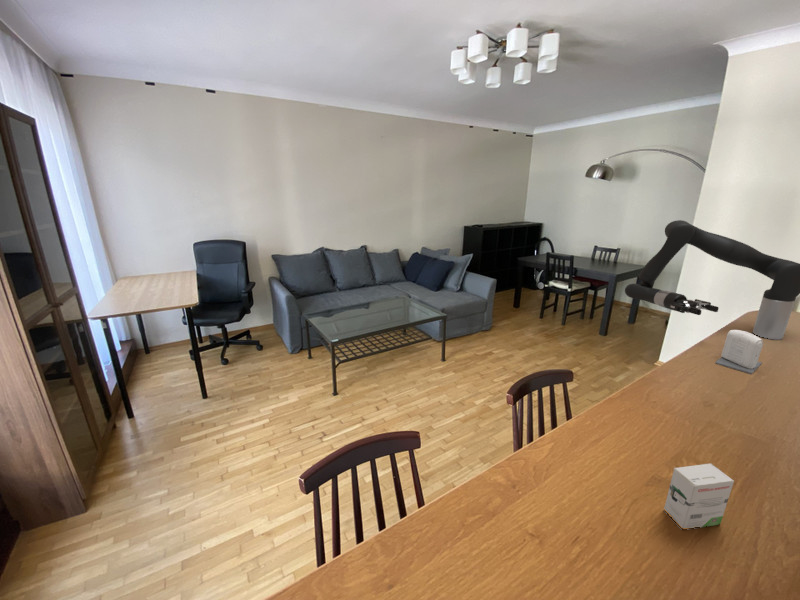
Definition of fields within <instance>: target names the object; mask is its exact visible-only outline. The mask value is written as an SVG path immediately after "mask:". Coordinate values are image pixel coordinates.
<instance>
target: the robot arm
mask: <svg viewBox="0 0 800 600" xmlns="http://www.w3.org/2000/svg"><path fill="white" fill-rule="evenodd" d="M664 234H665V236H666V240H665V242H664V244H663V245H662V246H661V248H660V249H659V250H658V252H656V253H655V255H654V256H652V258H651V259H650V260H648V262H647V263H646V264H645V265H644V266H643V268H642V270H641V271H640V273H639V274H638V279H639V280H640V283H628V284H627V285H626V287H625V289H624V293H625V295H626V296H627V297H628V298H631V299H635V300H640V301H644V302H646V303H647V302H648V303H650V304H653V305H656V306H658V307H662V308H665V309H667V310H670V311H671V310H672V311H674V312H678V313H681V314H685V313H687V314H689V313H690V314H693V315H696V316H701V315H702V310H707V311H710V312H714V313H718V312H719V306H716V305H712V303H711V302H709V301H705V300H701V299H697V298H695V299H694V300H693V299H688V297H686V296H685V295H684V294H682V293H677V292H673V291H671V290H670V291H669V290H663V289H660V288H659V289H658V288H654V287H653V286H654V284H655V281H656V280H657V279H658V278H659V276H660V275H661V273H662V272H663V271H664V269H665V268H666V266H667V265H668V264H669V263H670V262H671V260H672V259H673V258H674V257H675V256H676V255H677V254H678V253H679V252H680V251H681V250H682V249H683V247H684V246H686V245H687V244H688V245H690V246H693V247H694V248H698V249H699V250H701V251H702V252H704V253H705V254H708V255H709V256H711V257H714V258H716V259H718V260H720V261H724V262H725V263H728V264H732V265H734V266H739V267H742V268H746V269H747V268H748V269H751V270H753V271H755V272H758V274H761V275H763V276H765V277H767V278H769V279H770V280H772V281H773V282H772V284H771V287H770V288H769V289H766V290H764V291H763V295H762V298H761V300H760V301H761V302H760V306H759V309H758V313H757V315H756V319H755V323H754V325H753V329H752V332H753V333H754V334H756V335H758V336H757V337H759V336H760V337H759V338H762V337H764V338H763V339H767V338H768V340H777V341H778V340H779V341H780V340H782V339H783V338H784V336H785V334H786V333H785V332H786V330H787V327H788V324H789V321H790V318H791V314H792V312H793V308H794V305H795V302H796V300H797V299H796V298H797V297H798V296H799V295H800V263H798V262H797V261H793V260H789V259H784V258H780V257H776V256H772V255H769V254H765V253H763V252H761V251H759V250H758V249H756V248H754V247H752V246H751V245H749V244H746V243H745V242H743V241H738V240H737V239H733V238H730V237H727V236H724V235H720V234H717V233H714V232H709V231H707V230H703V229H701V228H699V227H697V226H695V225H693V224H691V223H689V222H688V221H686V220H681V219H680V220H679V219H678V220H673V221H671V222H669V223H667V225H666V226H665V227H664ZM753 333H752V334H753ZM754 334H753V335H754ZM756 335H755V336H756Z"/></svg>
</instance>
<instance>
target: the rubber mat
mask: <svg viewBox="0 0 800 600" xmlns="http://www.w3.org/2000/svg"><path fill="white" fill-rule="evenodd" d="M715 363H716V364H715ZM714 364H715V365H718V364H719V365H718V366H721V365H722V367H725V368H729V369H732V370H736V371H738V370H739V371H740V372H741V373H746V374H749V375H752V374H753V373H754V372H756V370H757V369H758V368H759V367H760V366H761V365H762V362H760V361H757V364H756V367H755V368H753V369H749V368H746V367H743V366H741V365H739V364H736V363H734V362H732V361H730V360H727V359H725V358H723V357H722V356H721V357H720V358H718V359H717V360H716V361H715V362H714Z"/></svg>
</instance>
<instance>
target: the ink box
mask: <svg viewBox="0 0 800 600" xmlns="http://www.w3.org/2000/svg"><path fill="white" fill-rule="evenodd" d="M669 483H670V484H669V488H668V492H667V496H666V501H665V504H664V508H663V510H664V509H665V510H666V511H667V512H668V513H669V514H670V515H671V516H672V517H673V519H674V520H675V521H676V522H677V523H678V524H679V525H680V526H681V527H682V528H694V527H700V528H706V526H707V527H713V526H719V524H720V525H721V523H722V520H723V518H724V514H725V511H726V507H727V504H728V501H729V498H730V495H731V491H732V489H733V486H734V483H735V480H734V479H732V478H731V477H730V476H728V475H727V474H726V473H725V472H723V470H721V469H719V468H718V467H717V466H715V465H714V464H713V463H711V462H710V463H702V464H695V465H688V466H680V467H674V468H673V472H672V476H671V479H670V482H669ZM694 529H695V528H694Z"/></svg>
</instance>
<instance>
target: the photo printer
mask: <svg viewBox="0 0 800 600" xmlns="http://www.w3.org/2000/svg"><path fill="white" fill-rule="evenodd" d="M763 347H764V341H763V339H762V338H761V337H759V336H756V335H754V334H753V333H752V332H748V331H746V330H745V331H744V330H739V329H731V330H728V332H727V335H726V338H725V342H724V344H723V348H722V351H721V354H720V355H721V357H723V358H725V359H727V360H730V361H732V362H734V363H736V364H739V365H741V366H743V367H746V368H749V369H753V368H755V367H756V364H757V362H759V358H760V355H761V352H762V350H763V349H762V348H763Z"/></svg>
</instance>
